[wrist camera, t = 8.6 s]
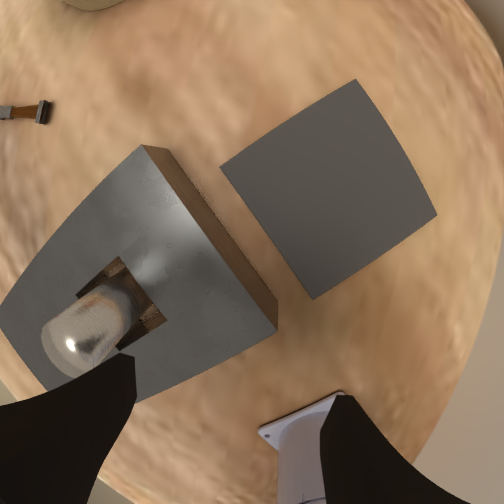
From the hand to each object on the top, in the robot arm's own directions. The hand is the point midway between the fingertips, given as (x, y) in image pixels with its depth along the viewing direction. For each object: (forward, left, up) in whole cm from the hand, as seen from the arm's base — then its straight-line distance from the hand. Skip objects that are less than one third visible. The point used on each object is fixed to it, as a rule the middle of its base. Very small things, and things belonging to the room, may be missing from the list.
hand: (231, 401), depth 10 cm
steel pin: (+5, +6, -10) cm, 13 cm away
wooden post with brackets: (+22, +8, -11) cm, 26 cm away
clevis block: (+5, +9, -10) cm, 15 cm away
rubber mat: (+3, -8, -10) cm, 13 cm away
